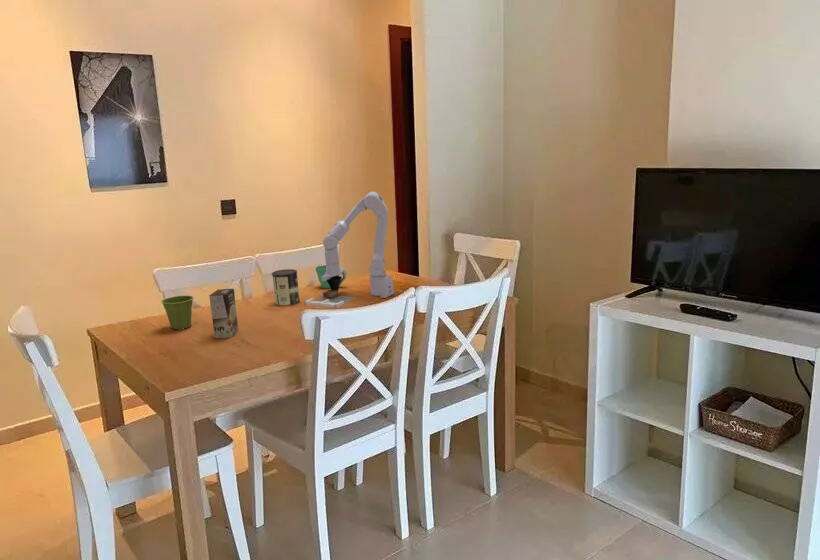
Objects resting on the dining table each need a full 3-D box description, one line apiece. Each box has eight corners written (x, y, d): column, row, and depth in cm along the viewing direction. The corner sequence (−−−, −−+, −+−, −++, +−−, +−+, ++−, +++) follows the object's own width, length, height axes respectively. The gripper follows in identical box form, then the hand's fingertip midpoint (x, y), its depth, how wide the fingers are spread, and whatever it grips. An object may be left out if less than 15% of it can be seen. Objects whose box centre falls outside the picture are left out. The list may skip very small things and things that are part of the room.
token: (338, 296, 275) (337, 290, 274) (331, 298, 271) (331, 293, 271) (329, 295, 277) (329, 289, 277) (323, 298, 273) (322, 292, 273)
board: (358, 299, 271) (357, 294, 271) (335, 309, 258) (335, 304, 257) (327, 296, 279) (327, 291, 279) (304, 306, 266) (304, 301, 265)
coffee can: (297, 299, 276) (294, 267, 273) (302, 305, 267) (298, 272, 264) (273, 303, 273) (270, 271, 270) (277, 309, 264) (273, 275, 260)
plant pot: (202, 326, 245) (198, 298, 243) (172, 334, 238) (167, 305, 235) (190, 320, 254) (186, 293, 251) (160, 328, 246) (156, 300, 244)
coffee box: (231, 337, 229) (226, 294, 226) (214, 338, 230) (208, 295, 226) (239, 329, 238) (234, 288, 235) (222, 330, 239) (216, 289, 235)
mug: (313, 290, 291) (311, 269, 288) (324, 285, 299) (322, 264, 297) (341, 292, 285) (340, 270, 282) (352, 286, 293) (350, 265, 291)
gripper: (334, 258, 282) (337, 288, 285) (314, 265, 270) (317, 296, 273) (348, 259, 278) (350, 289, 281) (327, 266, 266) (330, 298, 269)
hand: (335, 293), depth 277 cm, fingers closed
